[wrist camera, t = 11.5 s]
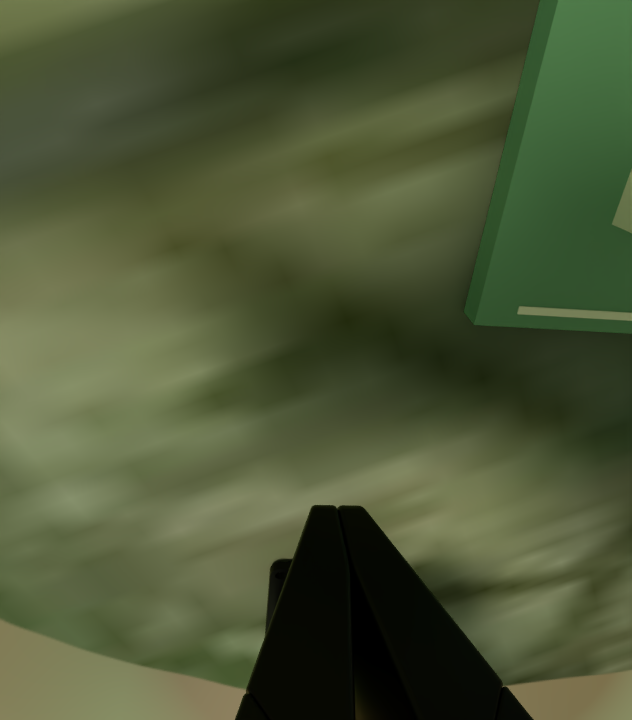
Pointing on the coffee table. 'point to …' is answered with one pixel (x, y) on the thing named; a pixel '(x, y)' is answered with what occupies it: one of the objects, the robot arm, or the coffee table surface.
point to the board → (564, 180)
